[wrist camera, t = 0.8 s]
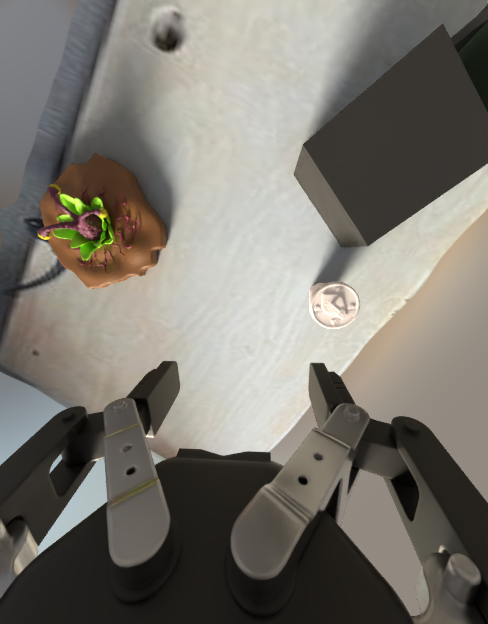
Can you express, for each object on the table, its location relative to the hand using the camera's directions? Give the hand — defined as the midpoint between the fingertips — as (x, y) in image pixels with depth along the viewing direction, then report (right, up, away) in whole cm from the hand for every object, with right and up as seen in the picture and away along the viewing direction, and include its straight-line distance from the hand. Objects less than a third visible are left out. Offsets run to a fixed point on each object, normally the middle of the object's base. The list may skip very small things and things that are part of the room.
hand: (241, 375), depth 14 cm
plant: (-24, +18, +27) cm, 41 cm away
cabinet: (+18, +24, +21) cm, 37 cm away
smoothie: (+13, +7, +26) cm, 30 cm away
